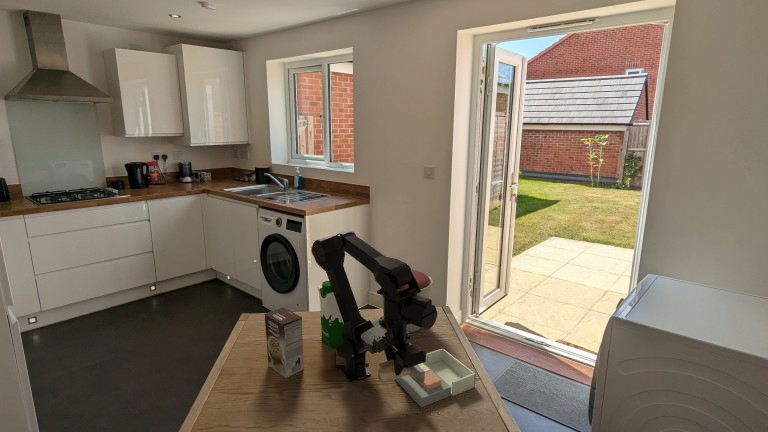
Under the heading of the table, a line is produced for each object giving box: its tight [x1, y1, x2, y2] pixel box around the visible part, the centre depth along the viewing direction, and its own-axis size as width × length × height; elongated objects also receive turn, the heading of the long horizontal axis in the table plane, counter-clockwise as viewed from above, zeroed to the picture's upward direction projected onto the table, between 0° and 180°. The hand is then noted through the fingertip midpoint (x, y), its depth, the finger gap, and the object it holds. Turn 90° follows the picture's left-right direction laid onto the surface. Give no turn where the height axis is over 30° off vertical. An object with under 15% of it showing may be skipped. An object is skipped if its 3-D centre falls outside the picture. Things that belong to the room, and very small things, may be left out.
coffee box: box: [263, 306, 305, 379], centre depth 115 cm, size 9×6×16 cm
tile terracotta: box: [417, 371, 442, 391], centre depth 106 cm, size 4×4×2 cm
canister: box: [379, 269, 434, 334], centre depth 138 cm, size 18×18×21 cm
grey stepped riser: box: [394, 363, 452, 408], centre depth 108 cm, size 13×9×2 cm
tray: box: [424, 348, 476, 397], centre depth 112 cm, size 14×7×4 cm, turn 29°
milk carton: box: [317, 280, 343, 350], centre depth 128 cm, size 9×9×20 cm
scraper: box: [377, 359, 425, 384], centre depth 103 cm, size 11×9×4 cm
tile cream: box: [410, 363, 430, 380], centre depth 110 cm, size 4×4×2 cm
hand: (394, 372), depth 103 cm, fingers closed on scraper, 2 cm apart
